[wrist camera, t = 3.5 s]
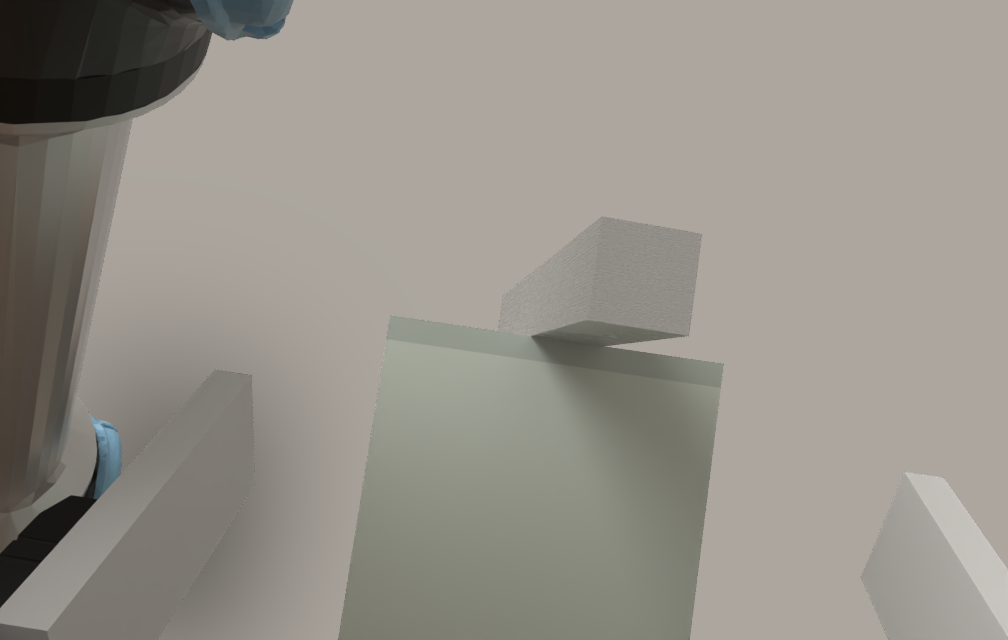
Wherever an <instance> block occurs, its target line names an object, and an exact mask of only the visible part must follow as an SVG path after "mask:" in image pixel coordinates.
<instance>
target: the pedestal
mask: <svg viewBox="0 0 1008 640" xmlns="http://www.w3.org/2000/svg"><path fill="white" fill-rule="evenodd" d="M723 365H724V364H721V363H715V362H708V361H701V360H694V359H687V358H680V357H672V356H666V355H658V354H652V353H646V352H639V351H632V350H624V349H618V348H611V347H604V346H597V345H590V344H583V343H577V342H570V341H563V340H556V339H549V338H542V337H535V336H528V335H521V334H515V333H508V332H501V331H494V330H487V329H480V328H472V327H466V326H459V325H452V324H445V323H439V322H431V321H425V320H418V319H411V318H404V317H397V316H390V318H389V324H388V331H387V337H386V343H385V349H384V356H383V362H382V368H381V375H380V381H379V387H378V393H377V400H376V406H375V412H374V418H373V425H372V431H371V437H370V443H369V450H368V456H367V462H366V469H365V475H364V481H363V487H362V494H361V500H360V507H359V513H358V519H357V526H356V531H355V538H354V544H353V550H352V557H351V563H350V569H349V575H348V582H347V588H346V594H345V600H344V607H343V613H342V619H341V625H340V632H339V638H338V640H690V633H691V625H692V616H693V608H694V600H695V592H696V584H697V576H698V568H699V560H700V552H701V543H702V535H703V527H704V519H705V511H706V503H707V495H708V487H709V479H710V470H711V462H712V454H713V446H714V438H715V430H716V421H717V414H718V406H719V398H720V390H721V381H722V373H723Z"/></svg>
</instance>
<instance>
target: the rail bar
mask: <svg viewBox="0 0 1008 640" xmlns="http://www.w3.org/2000/svg"><path fill="white" fill-rule="evenodd" d="M701 237H702V234H700V233H693V232H688V231H682V230H676V229H671V228H665V227H659V226H653V225H648V224H642V223H636V222H630V221H625V220H619V219H613V218H607V217H601V218H600V219H598V220H597V221H596V222H594V223H593V224H592V225H591V226H589V227H588V228H587V229H586V230H584V231H583V232H582V233H581V234H580V235H578V236H577V237H576V238H574V239H573V240H572V241H571V242H569V243H568V244H567V245H566V246H564V247H563V248H562V249H561V250H560V251H558V252H557V253H556V254H555V255H553V256H552V257H551V258H550V259H548V260H547V261H546V262H545V263H543V264H542V265H541V266H540V267H538V268H537V269H536V270H535V271H533V272H532V273H531V274H530V275H528V276H527V277H526V278H525V279H523V280H522V281H521V282H520V283H518V284H517V285H516V286H515V287H513V288H512V289H511V290H510V291H508V292H507V293H506V294H505V295H503V298H502V305H501V312H500V319H499V325H498V331H501V332H508V333H515V334H521V335H528V336H535V337H542V338H549V339H556V340H563V341H570V342H577V343H583V344H590V345H597V346H610V345H619V344H626V343H635V342H642V341H651V340H660V339H667V338H676V337H684V336H689V331H690V323H691V316H692V307H693V300H694V292H695V284H696V276H697V268H698V261H699V252H700V245H701Z"/></svg>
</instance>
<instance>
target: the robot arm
mask: <svg viewBox="0 0 1008 640" xmlns="http://www.w3.org/2000/svg"><path fill="white" fill-rule="evenodd" d="M292 3H293V0H0V640H158V639H159V637H160V636H161V634H162V632H163V631H164V629H165V627H166V626H167V624H168V623H169V621H170V620H171V618H172V616H173V615H174V613H175V612H176V610H177V608H178V607H179V605H180V603H181V602H182V600H183V599H184V597H185V595H186V594H187V592H188V591H189V589H190V588H191V586H192V584H193V583H194V581H195V580H196V578H197V576H198V575H199V573H200V572H201V570H202V568H203V567H204V565H205V564H206V562H207V561H208V559H209V557H210V556H211V554H212V552H213V551H214V549H215V548H216V546H217V545H218V543H219V541H220V540H221V538H222V536H223V535H224V533H225V532H226V530H227V528H228V527H229V525H230V524H231V522H232V521H233V519H234V517H235V516H236V514H237V513H238V511H239V509H240V508H241V506H242V505H243V503H244V501H245V500H246V498H247V497H248V495H249V493H250V492H251V490H252V488H253V487H254V485H255V470H254V439H253V438H254V436H253V405H252V404H253V403H252V402H253V401H252V375H248V374H241V373H234V372H227V371H220V370H214V371H213V372H212V373H211V375H210V376H209V377H208V378H207V379H206V380H205V381H204V382H203V383H202V384H201V386H200V387H199V388H198V389H197V390H196V391H195V392H194V394H192V396H191V397H190V398H189V399H188V400H187V401H186V402H185V403H184V404H183V406H182V407H181V408H180V409H179V410H178V411H177V412H176V413H175V414H174V416H173V417H172V418H171V419H170V420H169V421H168V422H167V423H166V425H165V426H164V427H163V428H162V429H161V430H160V431H159V432H158V433H157V434H156V436H155V437H154V438H153V439H152V440H151V441H150V442H149V443H148V445H147V446H146V447H145V448H144V449H143V450H142V451H141V452H140V453H139V455H138V456H137V457H136V458H135V459H134V460H133V461H132V462H131V463H130V464H129V466H128V467H127V468H126V469H125V470H124V471H123V472H122V473H121V466H122V444H121V439H120V435H119V434H118V433H117V430H116V428H115V427H114V426H113V425H112V424H110V423H109V422H106V421H101V420H97V419H95V418H93V417H91V416H90V414H89V412H88V410H87V409H86V407H85V406H84V404H83V403H82V401H81V400H80V399H79V398H78V396H77V395H76V394H77V389H78V384H79V379H80V375H81V370H82V365H83V360H84V354H85V350H86V345H87V340H88V335H89V330H90V326H91V320H92V316H93V311H94V306H95V301H96V296H97V291H98V286H99V281H100V276H101V272H102V266H103V261H104V257H105V252H106V247H107V242H108V237H109V232H110V227H111V222H112V218H113V212H114V208H115V203H116V198H117V193H118V188H119V183H120V178H121V173H122V169H123V164H124V159H125V154H126V149H127V144H128V139H129V134H130V129H131V124H132V119H133V118H135V117H138V116H141V115H144V114H146V113H148V112H150V111H151V110H154V109H156V108H158V107H160V106H162V105H164V104H165V103H167V102H168V101H169V100H171V99H172V98H174V97H175V96H176V95H178V94H179V93H181V92H182V91H183V90H184V89H185V87H186V86H187V85H188V84H189V83H190V82H191V81H192V80H193V79H194V78H195V76H196V74H197V73H198V71H199V69H200V68H201V66H202V64H203V61H204V59H205V56H206V53H207V49H208V46H209V43H210V39H211V35H212V32H213V33H215V34H217V35H219V36H221V37H222V38H224V39H226V40H236V39H239V38H241V37H246V36H247V37H252V38H256V39H268V38H270V37H272V36H274V35H276V34H277V33H279V32H280V30H281V29H282V27H283V26H284V24H285V18H286V16H287V15H288V14H289V11H290V9H291V6H292ZM861 579H862V582H863V584H864V586H865V588H866V591H867V593H868V595H869V597H870V599H871V601H872V604H873V606H874V608H875V611H876V613H877V615H878V617H879V619H880V622H881V624H882V626H883V628H884V631H885V633H886V635H887V637H888V639H889V640H1008V569H1007V568H1006V567H1005V565H1004V564H1003V562H1002V561H1001V559H1000V558H999V557H998V555H997V554H996V552H995V551H994V549H993V548H992V547H991V545H990V544H989V542H988V541H987V539H986V538H985V537H984V535H983V534H982V532H981V531H980V529H979V528H978V526H977V525H976V524H975V522H974V521H973V520H972V518H971V516H970V515H969V514H968V512H967V511H966V509H965V508H964V506H963V505H962V503H961V502H960V501H959V500H958V498H957V496H956V495H955V493H954V492H953V491H952V489H951V488H950V486H949V485H948V483H947V482H946V480H945V479H944V478H942V477H936V476H929V475H922V474H915V473H909V472H904V474H903V476H902V479H901V481H900V483H899V486H898V488H897V491H896V493H895V496H894V498H893V500H892V503H891V505H890V508H889V510H888V513H887V515H886V517H885V520H884V522H883V525H882V527H881V530H880V532H879V535H878V537H877V539H876V542H875V545H874V547H873V549H872V551H871V554H870V556H869V559H868V561H867V564H866V566H865V569H864V571H863V573H862V576H861Z"/></svg>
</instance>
